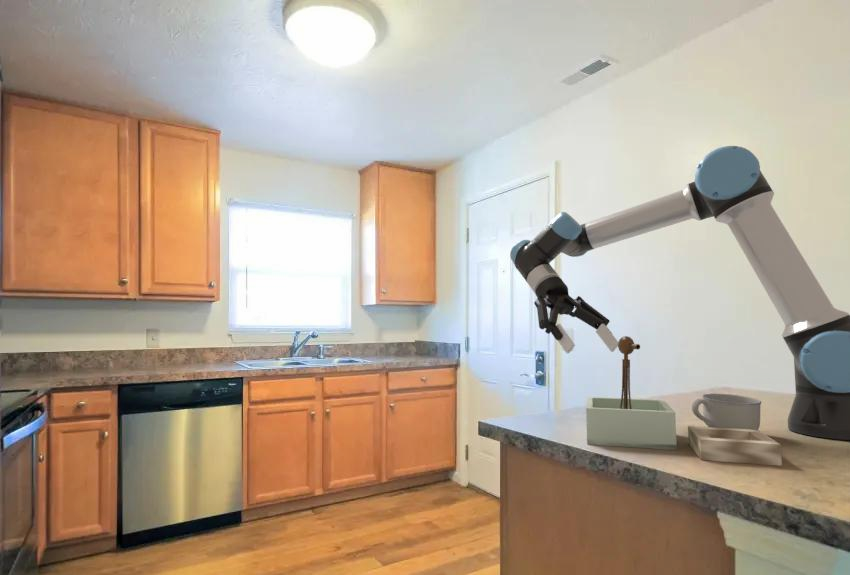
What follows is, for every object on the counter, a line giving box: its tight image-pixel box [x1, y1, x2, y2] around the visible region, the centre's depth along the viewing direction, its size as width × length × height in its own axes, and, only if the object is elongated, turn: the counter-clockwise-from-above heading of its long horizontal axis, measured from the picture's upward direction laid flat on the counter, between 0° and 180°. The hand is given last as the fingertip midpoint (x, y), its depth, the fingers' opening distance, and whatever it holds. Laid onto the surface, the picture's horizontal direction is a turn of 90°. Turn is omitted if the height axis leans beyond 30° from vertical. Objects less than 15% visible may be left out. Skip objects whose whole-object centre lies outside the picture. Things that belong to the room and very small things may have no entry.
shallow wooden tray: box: [687, 425, 783, 467], centre depth 91 cm, size 12×12×4 cm
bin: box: [585, 396, 678, 451], centre depth 104 cm, size 16×16×7 cm
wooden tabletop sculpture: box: [617, 335, 641, 409], centre depth 105 cm, size 6×5×20 cm
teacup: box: [691, 392, 762, 430], centre depth 108 cm, size 14×11×8 cm
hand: (593, 348), depth 113 cm, fingers open, 13 cm apart
